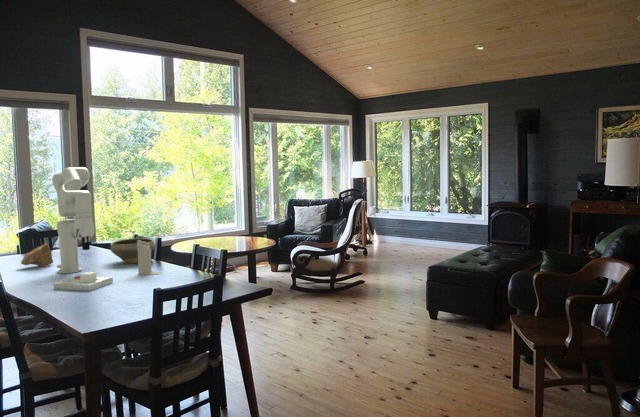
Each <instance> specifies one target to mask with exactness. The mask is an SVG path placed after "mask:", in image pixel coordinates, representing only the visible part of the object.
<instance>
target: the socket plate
mask: <svg viewBox="0 0 640 417" xmlns="http://www.w3.org/2000/svg"><path fill="white" fill-rule="evenodd" d="M96 279H97V280H96V281H93V282H80V274H79V275H77V276H73V277H70V278H67V279H64V280H60V281H58V282H53V283H52V284H53V285H52V286H53V290H61V291H62V290H63V291H80V292H81V291H83V292H92V291H94V290H97V289H99V288H102V287H105V286H108V285H110V284H113V283H114V280H113V279H114V277H113V276H96Z"/></svg>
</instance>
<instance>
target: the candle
mask: <svg viewBox="0 0 640 417" xmlns="http://www.w3.org/2000/svg"><path fill="white" fill-rule="evenodd" d="M137 251H138V262H137V267H138V268H137V269H138V275H141V276H143V275H144V276H145V275H146V276H150V275H151V276H153V275H161V274H162V272H159V271H152V262H151V261H152V260H151V258H152V251H151V250H150V245H149V243H146V241H141V240H137Z"/></svg>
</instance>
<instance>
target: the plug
mask: <svg viewBox="0 0 640 417" xmlns="http://www.w3.org/2000/svg"><path fill="white" fill-rule="evenodd" d="M79 275H80V282H93V281H96V280H97V279H96V277H97V272H96V271H86V272H81V273H79Z"/></svg>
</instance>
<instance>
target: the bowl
mask: <svg viewBox="0 0 640 417" xmlns="http://www.w3.org/2000/svg"><path fill="white" fill-rule="evenodd" d="M137 240H141V241H146V243H149V245H150V250H151V252H153V250H154V249H155V248H156V243H155V241H154V240H153V239H151V238H148V237H147V238H146V237H137V238H136V237H135V238H123V239H117V240H114V241H113V242H110V247H109V248H110V252H111V253H112V254H114V255H115V256H116V257H117V258H119V259H121V260H122V261H123V262H124V263H127V264H136V263H137V264H138V251H137Z"/></svg>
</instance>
